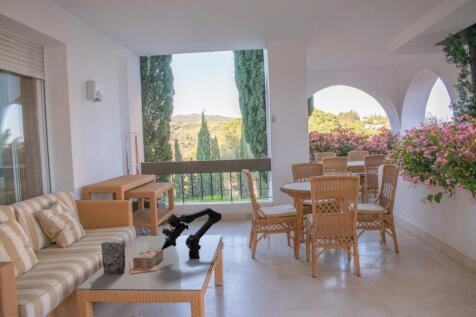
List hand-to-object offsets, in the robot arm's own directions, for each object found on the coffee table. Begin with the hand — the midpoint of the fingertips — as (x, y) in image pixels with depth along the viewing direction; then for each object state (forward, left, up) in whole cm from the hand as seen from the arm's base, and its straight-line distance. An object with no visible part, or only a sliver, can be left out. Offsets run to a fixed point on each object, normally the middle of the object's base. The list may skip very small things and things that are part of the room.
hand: (162, 249), depth 249 cm
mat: (+13, 0, -9) cm, 16 cm away
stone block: (+30, +6, -10) cm, 32 cm away
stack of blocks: (+3, -1, -6) cm, 7 cm away
